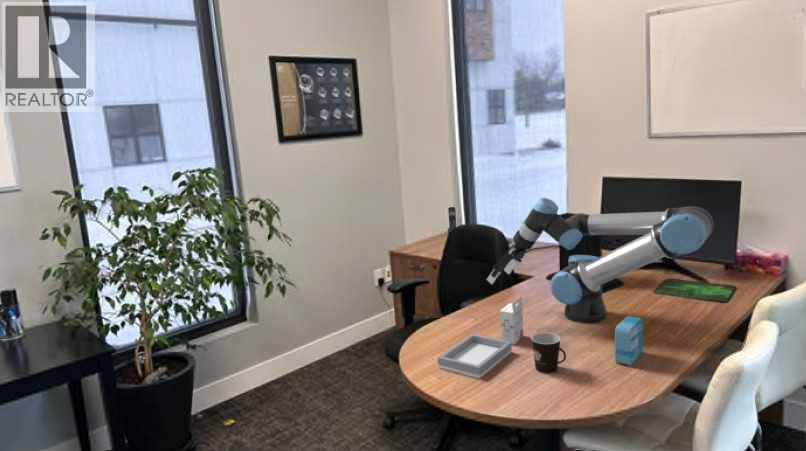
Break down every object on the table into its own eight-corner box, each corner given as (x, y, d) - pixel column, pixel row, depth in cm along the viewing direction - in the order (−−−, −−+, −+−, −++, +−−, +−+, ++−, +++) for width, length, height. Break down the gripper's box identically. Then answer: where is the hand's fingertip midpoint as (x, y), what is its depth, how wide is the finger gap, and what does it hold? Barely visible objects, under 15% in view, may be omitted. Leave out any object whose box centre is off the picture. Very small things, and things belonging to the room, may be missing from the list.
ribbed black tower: (627, 284, 246) (627, 215, 240) (599, 294, 236) (599, 223, 230) (570, 270, 271) (569, 207, 265) (543, 279, 261) (541, 214, 255)
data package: (629, 367, 173) (629, 330, 170) (614, 363, 176) (614, 327, 173) (642, 352, 182) (643, 317, 179) (628, 349, 184) (628, 314, 182)
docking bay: (511, 352, 188) (511, 342, 188) (479, 378, 172) (479, 367, 172) (472, 343, 198) (471, 333, 197) (438, 367, 181) (437, 357, 181)
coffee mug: (528, 363, 179) (527, 334, 177) (555, 361, 180) (554, 331, 178) (540, 381, 168) (539, 349, 166) (568, 378, 169) (568, 346, 167)
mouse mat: (651, 294, 233) (651, 291, 233) (665, 278, 250) (665, 276, 250) (727, 304, 216) (727, 302, 216) (736, 287, 233) (737, 285, 233)
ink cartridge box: (510, 333, 203) (508, 294, 200) (523, 335, 201) (522, 295, 198) (501, 342, 196) (499, 302, 193) (514, 345, 194) (513, 304, 191)
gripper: (533, 222, 218) (506, 262, 229) (503, 236, 199) (474, 279, 210) (549, 234, 216) (520, 274, 227) (519, 250, 196) (489, 293, 207)
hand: (498, 276), depth 219 cm, fingers open, 13 cm apart
